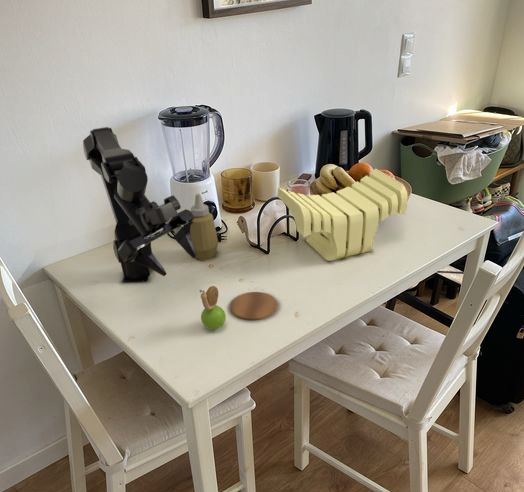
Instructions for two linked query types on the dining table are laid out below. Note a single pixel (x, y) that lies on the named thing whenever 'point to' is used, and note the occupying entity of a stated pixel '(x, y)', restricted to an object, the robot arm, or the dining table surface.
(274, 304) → the plate
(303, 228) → the slatted curved stool
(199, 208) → the squeeze bottle
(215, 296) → the snail figurine
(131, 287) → the dining table surface
